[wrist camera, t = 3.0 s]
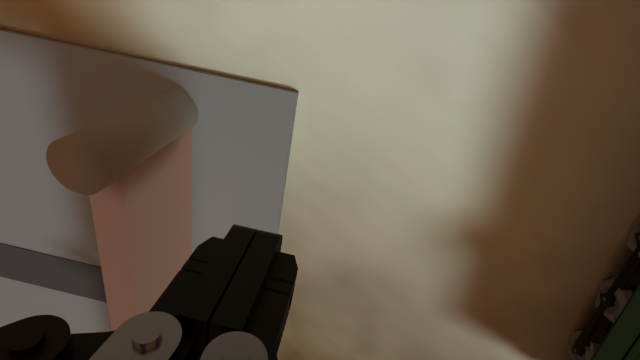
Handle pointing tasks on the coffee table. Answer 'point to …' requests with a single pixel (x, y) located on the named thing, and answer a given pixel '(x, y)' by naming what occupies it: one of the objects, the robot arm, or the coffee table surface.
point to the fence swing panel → (135, 195)
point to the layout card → (75, 209)
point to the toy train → (614, 314)
